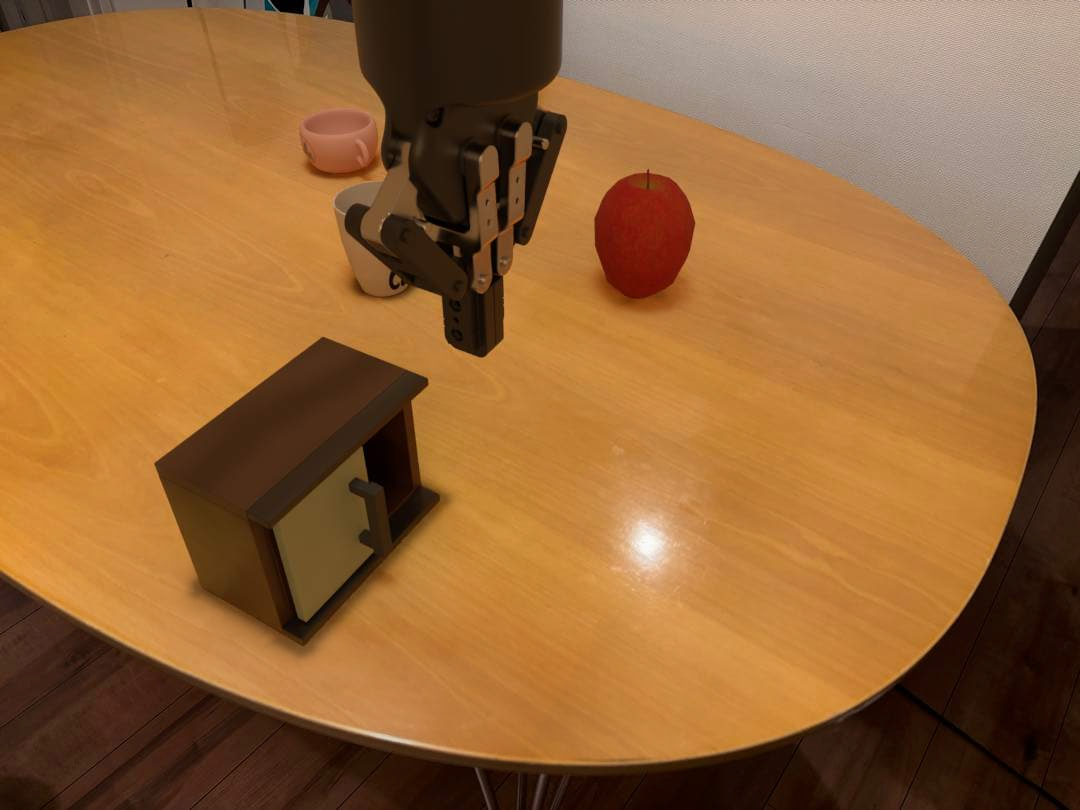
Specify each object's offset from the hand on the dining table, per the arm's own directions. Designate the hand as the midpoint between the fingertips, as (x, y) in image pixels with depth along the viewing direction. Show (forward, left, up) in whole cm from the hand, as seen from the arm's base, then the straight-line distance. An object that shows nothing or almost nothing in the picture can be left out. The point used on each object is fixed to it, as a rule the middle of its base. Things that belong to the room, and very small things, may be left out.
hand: (476, 344), depth 41 cm
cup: (+34, +36, -27) cm, 56 cm away
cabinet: (+3, +18, -27) cm, 33 cm away
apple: (+47, +12, -27) cm, 56 cm away
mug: (+54, +58, -27) cm, 84 cm away
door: (0, +12, -26) cm, 29 cm away
